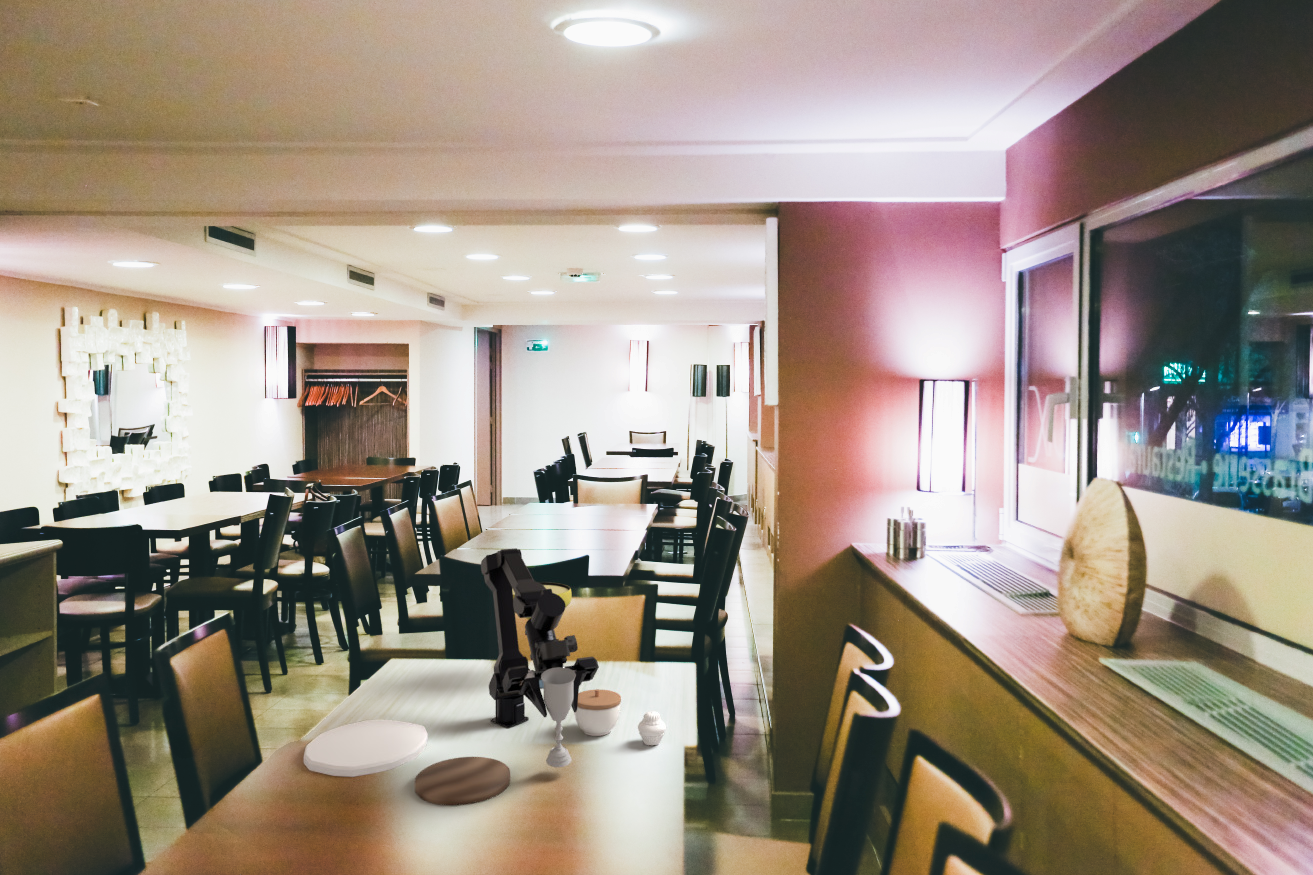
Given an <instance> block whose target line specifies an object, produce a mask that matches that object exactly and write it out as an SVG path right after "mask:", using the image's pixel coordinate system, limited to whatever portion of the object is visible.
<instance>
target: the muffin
mask: <svg viewBox="0 0 1313 875" xmlns="http://www.w3.org/2000/svg"><path fill="white" fill-rule="evenodd" d="M637 729H638V730H637V731H638V733H639V735H640V737H641V739H642V741H643V743H644V745H646V746H649V745H656V746H657V745H660V743H661V741H662V739H663V737H664V735H665V732H666V729H667V726H666V723H665V722H664V721H663V720H662V718H661V715H660V714H659V712H657V711H652V710H651V711H647V712H646V713H645V714H644V715H643V718H642V720H641V721H640V722H639V723H638V725H637Z"/></svg>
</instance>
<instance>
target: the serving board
mask: <svg viewBox="0 0 1313 875" xmlns="http://www.w3.org/2000/svg"><path fill="white" fill-rule="evenodd" d="M415 776H416V777H415V779H414V792H415V794H416V795H417V796H418V798H419V799H421V800H423V801H425V802H428V803H430V804H434V805H439V806H440V805H441V806H464V805H470V804H471V805H472V804H477V802H478V803H481V802H484V801H487V799H488V800H490V799H493V798H494V797H497V796H499V795H500V794H502V793H503V792H504V791H505V790H507V789H508V787H509V785H510V784H511V769H510V767H509V766H508V765H507V764H506V763H504V762H502V761H501V760H498V759H495V758H491V757H485V756H460V757H454V758H448V759H445V760H441V761H438V762H436V763H433V764H431V765H429V766H427V767H424V768H423V769H422V770H421V771H419V773H417V775H415ZM496 795H497V796H496ZM492 797H493V798H492Z"/></svg>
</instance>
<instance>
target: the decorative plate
mask: <svg viewBox="0 0 1313 875" xmlns="http://www.w3.org/2000/svg"><path fill="white" fill-rule="evenodd" d="M428 737H429V734H428V732H427V729H426V728H425V726H424V725H422V724H417V723H411V722H407V721H406V722H404V721H399V720H393V719H392V720H391V719H386V718H385V719H384V718H382V719H366V720H362V721H357V722H351V723H349V724H343V725H340V726H338V727H334V728H331V729H330V730H326V731H324V732H322V733H319V734H318V736H316V737H314V739H313V740H312V741H310V742H309V743H308V744H306V746H305V749H304V753H303V764H304V766H306V768H307V769H308V770H309V771H310V772H316V773H320V774H324V775H327V776H328V775H329V776H334V777H347V778H349V777H351V778H355V777H360V776H367V775H373V774H376V773H380V772H382V773H383V772H385V771H390V770H393V769H395V768H398V767H400V766H401V765H404V764H407V763H408V762H411V761H413V760H416V758H417V757H418V756H419V755H420V754H421V753H423V752H424V751H425V749H426V747H427V743H428V740H429V738H428Z"/></svg>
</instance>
